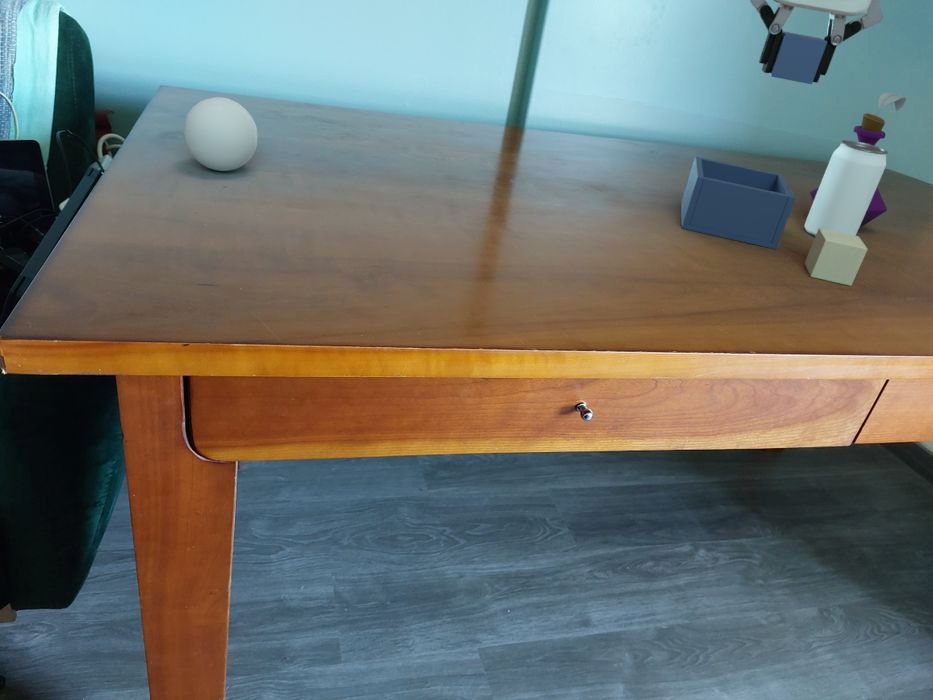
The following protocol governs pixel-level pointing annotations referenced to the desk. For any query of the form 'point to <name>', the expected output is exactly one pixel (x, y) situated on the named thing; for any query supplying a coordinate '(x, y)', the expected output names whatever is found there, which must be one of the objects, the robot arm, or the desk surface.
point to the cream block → (835, 256)
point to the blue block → (798, 57)
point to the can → (846, 188)
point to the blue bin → (736, 202)
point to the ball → (220, 134)
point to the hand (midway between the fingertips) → (789, 74)
